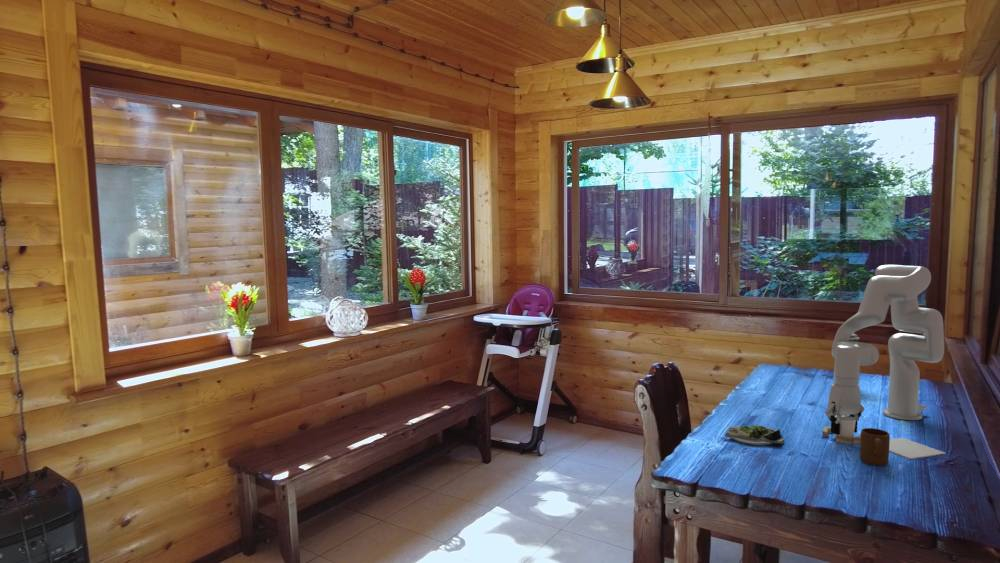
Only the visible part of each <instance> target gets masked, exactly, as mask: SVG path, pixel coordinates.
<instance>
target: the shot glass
mask: <svg viewBox="0 0 1000 563" xmlns="http://www.w3.org/2000/svg"><path fill="white" fill-rule="evenodd" d="M836 417H837V415H835V418H836ZM839 423H840V434H839V435H838V436H845V437H855V436H854V434H855V432H854V429H855V423H856V418H854V417H852V416H849V415H843V416H841V418H840V420H839ZM833 436H834V438H836V434H834V433H833Z"/></svg>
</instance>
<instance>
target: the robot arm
mask: <svg viewBox="0 0 1000 563" xmlns="http://www.w3.org/2000/svg"><path fill="white" fill-rule="evenodd" d="M874 272H875V273H874V274H875V275H874V276H872V277H871V278H869V280H868V282H867V284H866V286H865V289H864V293H863V295H862V299H861V302H860V305H859V308H858V311H857V312H856V313H855V314H854V315H852V316H851V317H849V318H848V319H846V321H844V322H843V323H842V324H841V325H840V327H838V329H837V330H836V333H835V336H834V339H833V342H832V345H831V355H832V357H833V359H834V362H833V363H834V365H833V384H831V386H830V390H829V394H828V400H827V401H828V402H827V408H826V409H825V411H824V414H825V415H826V417H827V418H828V419H829V422H830V426H831V433H830V434H833V435H834V434H836V435H839V434H840V423H839V420H840V418H841V416H843V415H847V416H852V417H854V418H856V423H855V429H854V434H856V433H858V422H859V421H860V418H861V416H862V413H863V412H864V411H865V407H864V406H863V405H862V404H861V403H862V397H861V389H860V384H859V383H860V368H861V366H866V367H867V366H868V367H869V366H872V365H874V364H876V363H877V361H878V360H879V357H880V351H879V349H878V348H877V347H876V346H875V345H873V344H870V343H865V342H859V341H858V342H853V341H848V340H849V338H850V336H851V335H852V334H855V333H856V332H858V331H859V330H862V329H864V328H868V327H872V326H875V325H879V324H881V323H883V322H884V321H885V320H886V317H887V315H888V311H889V307H890V317H891V324H892V327H893V328H894V329H895V330H897V331H900V332H898V333H894V334H892V335H891V336H890V337H889V339H888V341H887V342H888V343H887V350H888V355H889V378H888V396H887V397H888V398H887V399H888V400H887V408H884V409H883V410H882V413H883V415H884V416H887V417H889V418H893V419H896V420H897V419H898V420H903V421H919V420H923V414H922V413H921V412H920V411H924V410H927V406H926V405H925V404H919V395H920V394H919V392H920V379H921V378H920V376H921V374H920V368H919V367H918V365H917V363H916V362H924V363H930V364H935V363H939V362H941V361H942V359H943V358H944V354H945V337H944V336H945V335H944V334H945V333H944V332H945V331H944V329H945V328H944V319H943V316H942V313H941V312H940V310H937V309H935V308H928V307H921V306H919V303H918V302H919V301H918V296H919V295H920V294H921V293H923V292H924V291H925V290H926V289H928V287H929V285H930V284H931V282H932V274H931V271H930V270H929V269H928V268H927V267H925V266H920V265H919V266H918V265H902V264H883V265H879V266H878V267H876V269H875V271H874ZM901 331H902V332H901ZM903 332H905V333H903ZM906 332H907V333H906ZM913 333H915V334H913ZM916 333H917V334H916ZM919 334H920V335H919ZM915 361H916V362H915ZM835 415H837V417H836V418H835Z"/></svg>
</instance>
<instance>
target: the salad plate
mask: <svg viewBox="0 0 1000 563" xmlns="http://www.w3.org/2000/svg"><path fill="white" fill-rule="evenodd" d="M726 432H727V433H724V437H727V438H730V439H732V440H734V441H736V442H739V443H741V444H742V443H743V444H746V445H750V446H779V445H781V444H785V437H783V435H782V433H781V430H780V428H777V429H775V430H774V429H772V428H770V427H767V426H763V425H749V426H748V425H747V426H742V425H741V426H730V427H729V428H727V429H726Z"/></svg>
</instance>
